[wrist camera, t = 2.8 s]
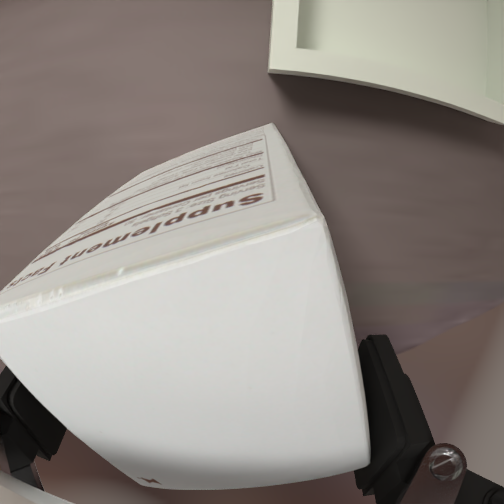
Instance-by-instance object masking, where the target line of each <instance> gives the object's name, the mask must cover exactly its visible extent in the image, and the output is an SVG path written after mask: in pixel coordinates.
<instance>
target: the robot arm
mask: <svg viewBox="0 0 504 504" xmlns="http://www.w3.org/2000/svg"><path fill="white" fill-rule="evenodd" d="M358 354H359V360H360V366H361V372H362V378H363V385H364V391H365V398H366V406H367V415H368V424H369V435H370V447H371V459H370V464H369V465H367V466H366V467H363V468H360V469H357V470H354V474H355V479H356V485H357V487H358V489H362V491H363V496H367V495H373V494H375V499H376V503H377V504H504V487H502V486H500V485H498V484H496V483H494V482H492V481H490V480H488V479H485V478H483V477H482V476H479V475H477V474H475V473H473V472H472V471H469V470H468V469H467V462H466V458H465V456H464V454H463V453H462V451H461V450H460V449H459V448H457V447H456V446H454V445H451V444H447V443H442V444H441V443H440V444H437V445H435V443H434V440H433V437H432V434H431V431H430V429H429V426H428V423H427V421H426V418H425V415H424V413H423V410H422V408H421V405H420V403H419V400H418V398H417V395H416V393H415V390H414V388H413V386H412V383H411V381H410V379H409V377H408V376H407V375H406V374H404V373H403V371H402V368H401V366H400V363H399V361H398V359H397V356H396V354H395V352H394V349H393V347H392V345H391V343H390V340H389V338H388V337H387V335H368V337H367V338H366V340H362V341H361V343H360V346H359V349H358ZM66 430H67V428H66V427H65V426H64V425H63V424H62V423H61V422H60V421H59V420H58V419H57V418H56V417H55V416H54V415H53V414H52V413H51V412H50V411H49V410H48V409H47V408H46V407H44V406H43V405H42V404H41V403H40V402H39V401H38V400H37V399H36V398H35V396H34V395H33V394H32V393H31V392H30V391H29V390H28V389H27V388H26V387H25V386H24V385H23V384H22V383H21V381H20V380H19V379H18V378H17V377H16V376H15V375H14V374H13V372H12V371H11V370H10V369H9V368H8V367H7V366H6V367H5V368H4V370H3V371H2V373H1V374H0V504H74V503H71V502H68V501H66V500H63V499H61V498H58V497H56V496H53V495H51V494H49V493H46V492H45V491H44V488H43V486H42V483H41V480H40V477H39V474H38V471H37V468H36V465H35V462H34V459H35V457H36V455H37V456H39V457H41V458H44V459H46V460H48V461H50V459H51V456H52V455H55V454H56V453H57V451H58V448H59V446H60V444H61V441H62V439H63V436H64V434H65V432H66Z"/></svg>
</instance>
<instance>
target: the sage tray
mask: <svg viewBox="0 0 504 504" xmlns="http://www.w3.org/2000/svg"><path fill="white" fill-rule="evenodd" d="M268 73H275V74H286V75H296V76H305V77H313V78H321V79H328V80H335V81H341V82H347V83H353V84H358V85H363V86H368V87H373V88H378V89H383V90H387V91H392V92H396V93H400V94H404V95H408V96H412V97H416V98H419V99H423V100H426V101H430V102H433V103H437V104H440V105H443V106H446V107H450V108H453V109H456V110H459V111H462V112H465V113H467V114H470V115H473V116H476V117H479V118H481V119H484V120H486V121H489V122H493V123H497V124H500V125H504V0H272V13H271V29H270V44H269V60H268Z"/></svg>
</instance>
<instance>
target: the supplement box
mask: <svg viewBox="0 0 504 504" xmlns="http://www.w3.org/2000/svg"><path fill="white" fill-rule="evenodd" d="M0 358H1V360H2V361H3V362H4V363H5V364H6V366H7V367H8V368H9V369H10V370H11V371H12V372H13V374H14V375H15V376H16V377H17V378H18V379H19V380H20V381H21V383H22V384H23V385H24V386H25V387H26V388H27V389H28V390H29V391H30V392H31V393H32V394H33V395H34V396H35V398H36V399H37V400H38V401H39V402H40V403H41V404H42V405H43V406H44V407H46V408H47V409H48V410H49V411H50V412H51V413H52V414H53V415H54V416H55V417H56V418H57V419H58V420H59V421H60V422H61V423H62V424H63V425H64V426H65V427H66V428H67V429H69V430H70V431H71V432H72V433H73V434H74V435H76V436H77V437H78V438H79V439H81V440H82V441H83V442H84V443H86V444H87V445H88V446H89V447H90V448H92V449H93V450H94V451H96V452H97V453H98V454H99V455H101V456H102V457H103V458H104V459H106V460H107V461H108V462H110V463H111V464H112V465H114V466H115V467H116V468H118V469H119V470H121V471H122V472H123V473H125V474H126V475H128V476H129V477H131V478H132V479H134V480H135V481H136V482H138V483H139V484H141V485H144V486H149V487H156V488H164V489H180V490H213V489H215V490H216V489H236V488H251V487H261V486H271V485H278V484H286V483H293V482H299V481H306V480H312V479H318V478H323V477H328V476H333V475H337V474H341V473H346V472H349V471H353V470H357V469H360V468H363V467H366V466H367V465H369V464H370V459H371V447H370V435H369V424H368V415H367V406H366V398H365V391H364V385H363V378H362V372H361V366H360V360H359V354H358V349H357V343H356V338H355V333H354V328H353V323H352V318H351V313H350V309H349V304H348V300H347V295H346V291H345V287H344V283H343V279H342V275H341V272H340V268H339V264H338V260H337V257H336V253H335V249H334V246H333V242H332V239H331V235H330V232H329V229H328V226H327V223H326V220H325V218H324V216H323V214H322V213H321V211H320V209H319V207H318V205H317V203H316V201H315V199H314V197H313V195H312V193H311V191H310V189H309V187H308V185H307V183H306V181H305V179H304V178H303V176H302V174H301V172H300V170H299V168H298V166H297V164H296V162H295V160H294V158H293V156H292V154H291V152H290V150H289V148H288V146H287V144H286V143H285V141H284V139H283V138H282V136H281V134H280V133H279V131H278V129H277V128H276V126H275V125H274V124H273V123H270V124H267V125H264V126H261V127H258V128H255V129H252V130H250V131H247V132H244V133H241V134H238V135H235V136H232V137H229V138H226V139H223V140H220V141H218V142H215V143H212V144H209V145H207V146H204V147H202V148H199V149H196V150H194V151H191V152H189V153H186V154H184V155H181V156H179V157H176V158H174V159H171V160H169V161H167V162H164V163H162V164H160V165H157V166H155V167H153V168H151V169H148V170H146V171H144V172H142V173H141V174H139V175H138V176H136V177H135V178H133V179H132V180H131V181H129V182H128V183H126V184H125V185H123V186H122V187H120V188H119V189H118V190H116V191H115V192H114V193H112V194H111V195H110V196H108V197H107V198H106V199H104V200H103V201H102V202H100V203H99V204H98V205H97V206H95V207H94V208H93V209H92V210H91V211H89V212H88V213H87V214H85V215H84V216H83V217H82V218H81V219H79V220H78V221H77V222H76V223H75V224H74V225H73V226H71V227H70V228H69V229H68V230H67V231H66V232H65V233H63V234H62V235H61V236H60V237H59V238H58V239H56V240H55V241H54V242H53V243H52V244H51V245H50V246H48V247H47V248H46V249H45V250H44V251H43V252H42V253H41V254H40V255H38V256H37V257H36V258H35V259H34V260H33V261H32V262H31V263H30V264H29V265H28V266H27V267H26V268H25V269H24V270H23V271H22V272H21V273H20V274H19V275H17V276H16V277H15V278H14V279H13V280H12V281H11V282H10V283H9V284H8V285H7V286H6V287H5V288H4V289H3V290H2V291H1V292H0Z"/></svg>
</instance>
